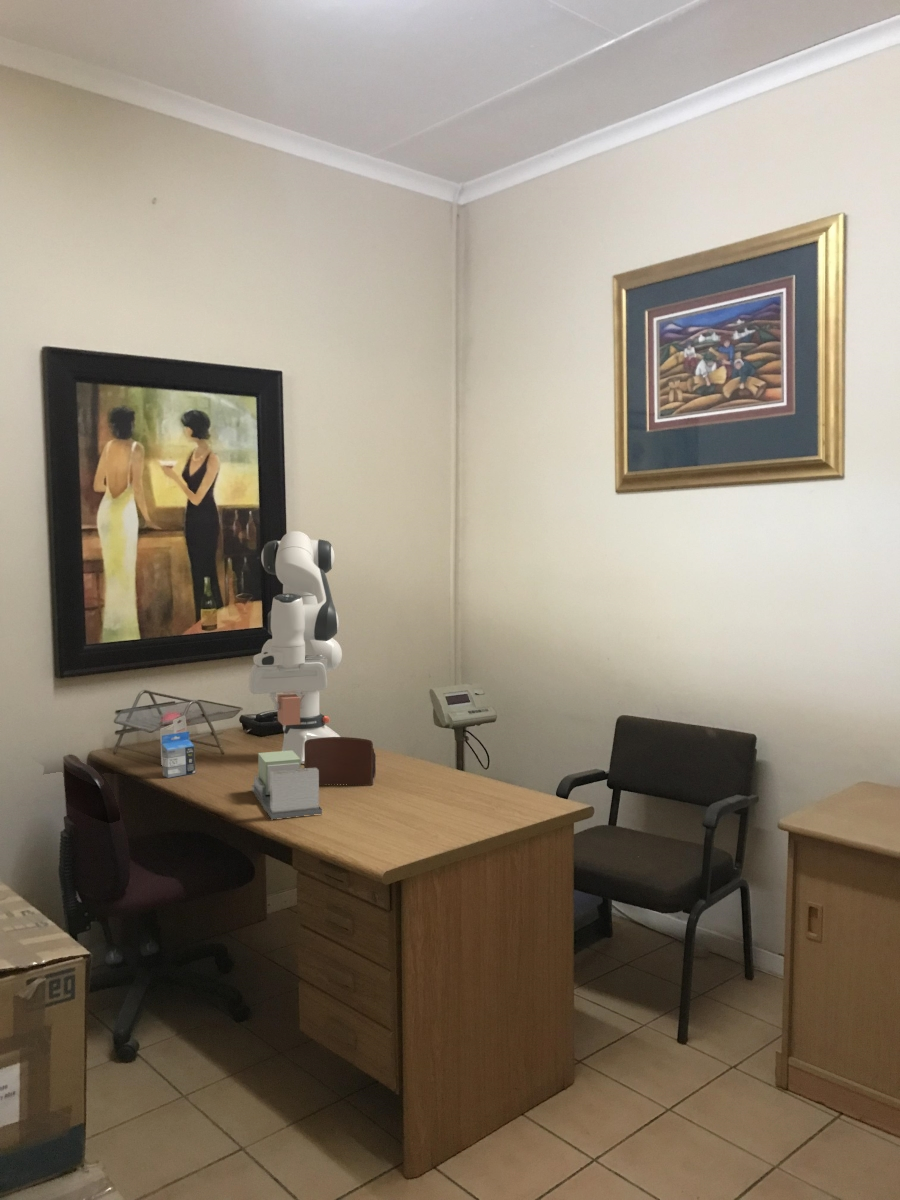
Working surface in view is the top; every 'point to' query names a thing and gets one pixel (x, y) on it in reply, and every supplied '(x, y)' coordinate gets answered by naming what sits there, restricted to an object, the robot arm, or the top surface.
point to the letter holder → (341, 760)
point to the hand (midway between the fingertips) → (288, 708)
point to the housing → (289, 709)
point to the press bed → (290, 793)
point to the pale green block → (276, 764)
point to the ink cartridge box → (174, 729)
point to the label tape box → (177, 755)
